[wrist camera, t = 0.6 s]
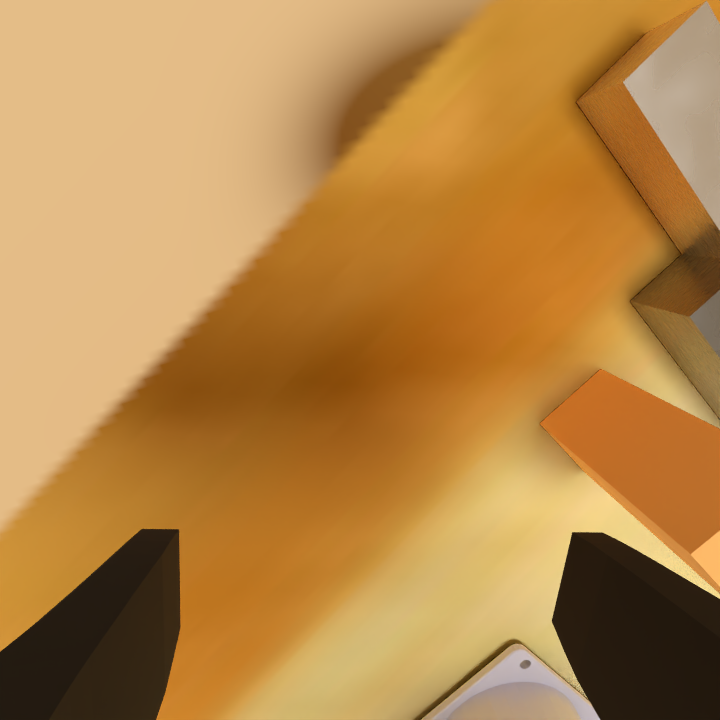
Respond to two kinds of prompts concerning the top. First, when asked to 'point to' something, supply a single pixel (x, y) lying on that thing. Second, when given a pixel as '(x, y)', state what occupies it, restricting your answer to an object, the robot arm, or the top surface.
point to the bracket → (674, 177)
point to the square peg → (648, 463)
